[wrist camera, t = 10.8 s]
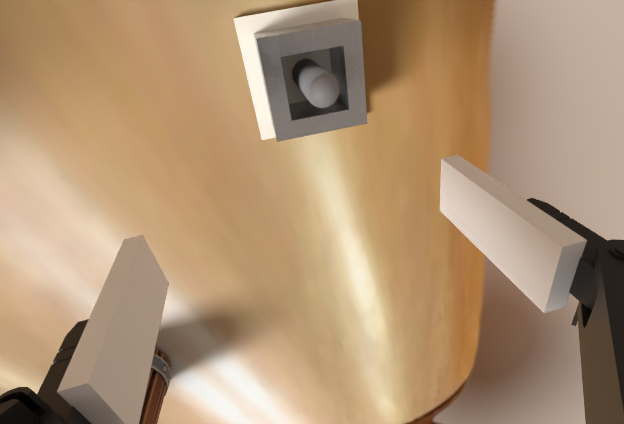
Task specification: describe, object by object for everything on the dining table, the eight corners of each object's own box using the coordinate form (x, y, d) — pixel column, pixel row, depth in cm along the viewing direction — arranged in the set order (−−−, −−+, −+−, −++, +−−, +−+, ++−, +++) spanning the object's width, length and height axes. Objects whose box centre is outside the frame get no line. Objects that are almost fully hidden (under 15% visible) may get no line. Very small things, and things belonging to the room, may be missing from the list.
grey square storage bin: (271, 123, 32) (277, 141, 28) (253, 33, 28) (256, 38, 24) (350, 108, 32) (367, 123, 28) (342, 17, 28) (361, 20, 24)
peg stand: (261, 136, 33) (268, 176, 25) (233, 18, 28) (232, 22, 20) (362, 116, 34) (399, 148, 26) (353, -4, 29) (397, -7, 21)
